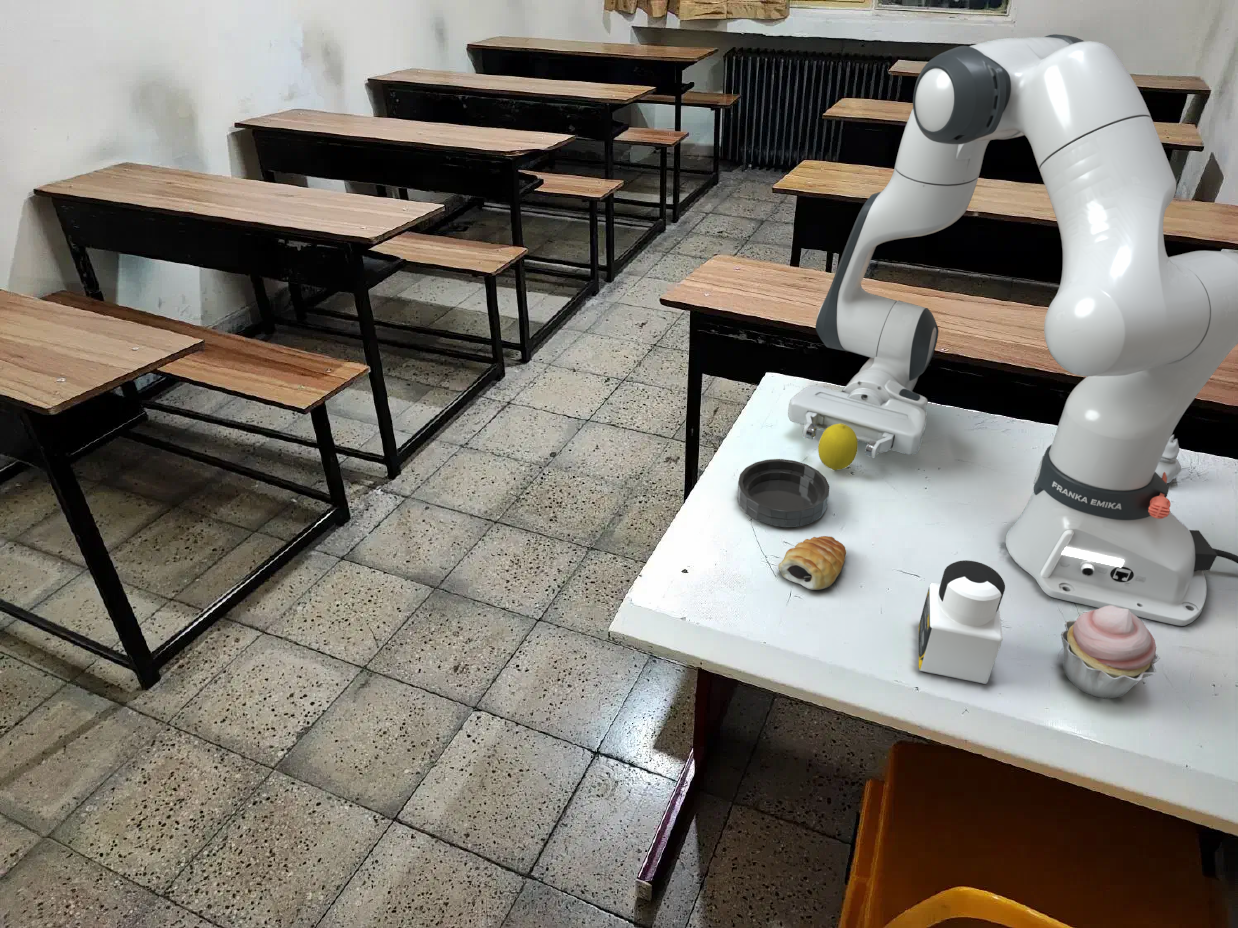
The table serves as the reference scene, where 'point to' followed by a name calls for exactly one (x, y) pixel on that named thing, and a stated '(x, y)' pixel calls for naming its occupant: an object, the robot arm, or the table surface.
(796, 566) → the pastry
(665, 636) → the table surface
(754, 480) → the shallow dish
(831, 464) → the lemon
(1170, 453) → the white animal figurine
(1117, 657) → the cupcake
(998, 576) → the medicine bottle
